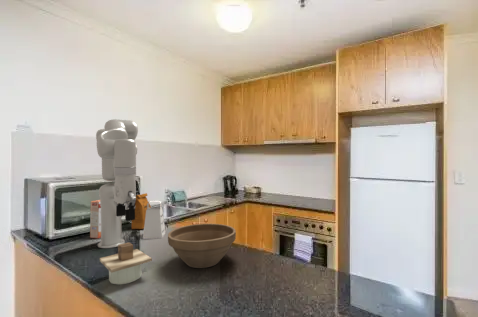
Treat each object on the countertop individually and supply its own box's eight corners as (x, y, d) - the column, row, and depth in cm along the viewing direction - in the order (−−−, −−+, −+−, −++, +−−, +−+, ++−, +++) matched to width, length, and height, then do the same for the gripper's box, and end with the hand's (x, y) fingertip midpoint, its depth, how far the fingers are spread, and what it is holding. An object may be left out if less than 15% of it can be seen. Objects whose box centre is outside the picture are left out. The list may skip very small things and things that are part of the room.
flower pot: (155, 262, 107) (155, 231, 107) (206, 245, 128) (206, 219, 128) (196, 284, 88) (196, 246, 88) (249, 260, 108) (249, 229, 109)
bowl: (105, 277, 94) (105, 260, 94) (134, 268, 101) (134, 253, 101) (115, 287, 86) (115, 269, 86) (145, 277, 93) (145, 261, 93)
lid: (99, 260, 94) (99, 244, 94) (137, 251, 104) (137, 236, 104) (111, 272, 84) (111, 254, 84) (151, 260, 93) (151, 244, 93)
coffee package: (154, 225, 169) (154, 193, 169) (142, 230, 157) (142, 195, 157) (141, 224, 172) (141, 192, 172) (128, 229, 160) (128, 195, 160)
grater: (147, 233, 151) (147, 200, 151) (165, 232, 152) (165, 199, 152) (142, 238, 140) (142, 202, 141) (162, 238, 141) (161, 202, 142)
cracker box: (98, 238, 141) (98, 201, 141) (89, 238, 142) (89, 201, 142) (115, 232, 155) (115, 197, 155) (107, 231, 156) (107, 197, 156)
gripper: (107, 171, 98) (107, 215, 98) (122, 173, 85) (123, 223, 85) (127, 171, 103) (127, 213, 103) (144, 172, 90) (144, 220, 90)
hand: (125, 217), depth 94 cm, fingers open, 9 cm apart
